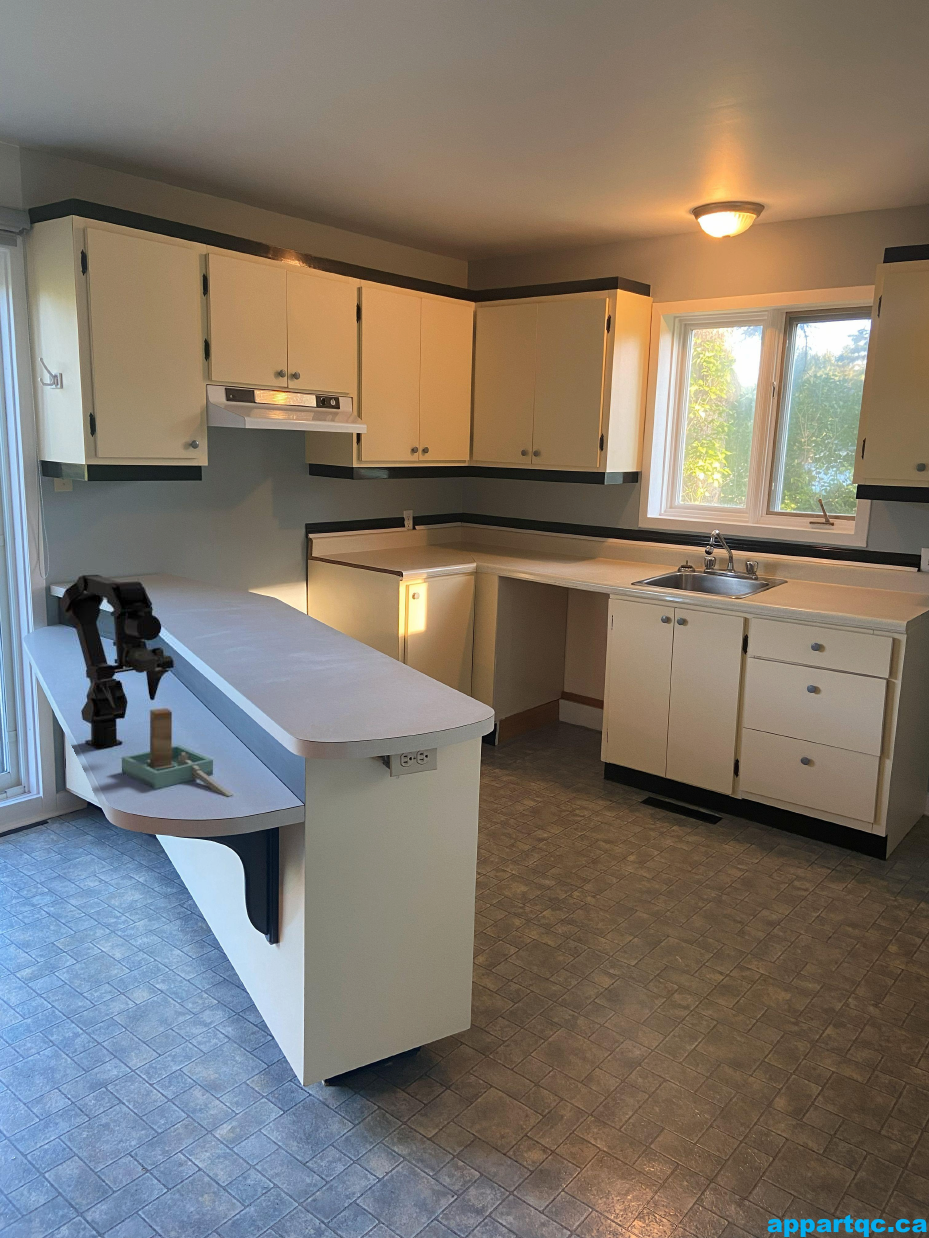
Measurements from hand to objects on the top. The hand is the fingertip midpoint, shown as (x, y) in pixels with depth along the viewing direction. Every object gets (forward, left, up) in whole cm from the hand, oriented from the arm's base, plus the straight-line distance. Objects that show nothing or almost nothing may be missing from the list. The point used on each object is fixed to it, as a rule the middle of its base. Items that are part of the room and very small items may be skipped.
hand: (133, 703), depth 204 cm
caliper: (+25, +2, -15) cm, 29 cm away
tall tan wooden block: (+13, -1, -12) cm, 18 cm away
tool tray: (+14, 0, -13) cm, 19 cm away
